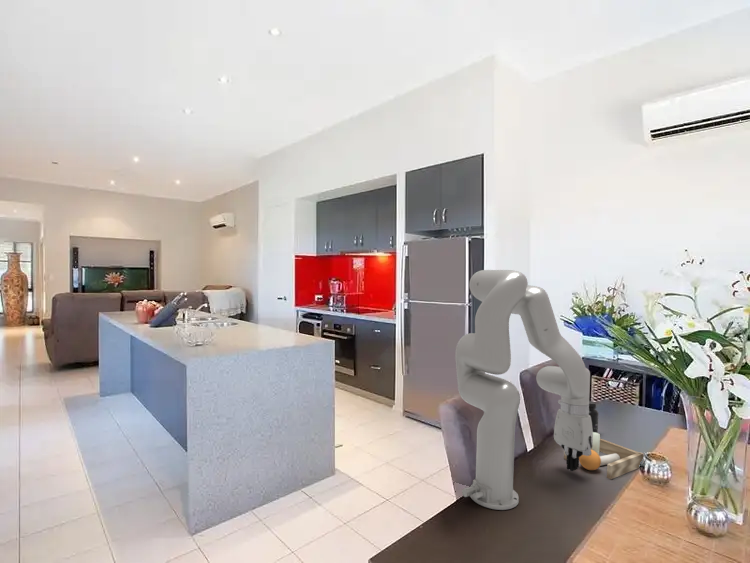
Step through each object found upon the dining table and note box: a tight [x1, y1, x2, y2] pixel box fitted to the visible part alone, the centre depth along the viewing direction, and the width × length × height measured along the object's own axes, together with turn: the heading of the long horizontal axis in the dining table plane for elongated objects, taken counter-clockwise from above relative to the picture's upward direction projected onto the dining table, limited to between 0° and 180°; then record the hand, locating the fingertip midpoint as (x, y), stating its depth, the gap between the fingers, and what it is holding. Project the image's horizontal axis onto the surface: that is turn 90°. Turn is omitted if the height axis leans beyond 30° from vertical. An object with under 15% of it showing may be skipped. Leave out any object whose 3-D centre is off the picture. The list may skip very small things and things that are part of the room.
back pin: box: [591, 432, 601, 456], centre depth 136 cm, size 3×3×8 cm
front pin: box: [599, 453, 620, 467], centre depth 134 cm, size 3×3×8 cm
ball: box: [579, 450, 601, 471], centre depth 129 cm, size 6×6×6 cm
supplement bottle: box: [589, 400, 600, 433], centre depth 158 cm, size 7×7×12 cm
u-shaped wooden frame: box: [563, 437, 645, 480], centre depth 134 cm, size 18×15×4 cm
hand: (572, 468), depth 126 cm, fingers closed
